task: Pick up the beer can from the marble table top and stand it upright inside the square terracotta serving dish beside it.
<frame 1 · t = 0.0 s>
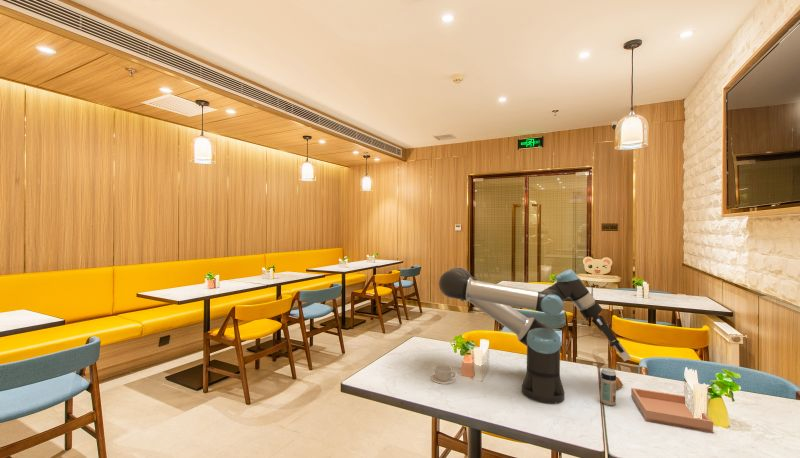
hand: (623, 353, 133), 15 cm above the table, tool tilted 35°, fingers open, 13 cm apart
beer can: (608, 403, 125), on the table
teacup: (443, 380, 143), on the table
terracotta dish: (668, 413, 119), on the table
pastry: (611, 387, 139), on the table
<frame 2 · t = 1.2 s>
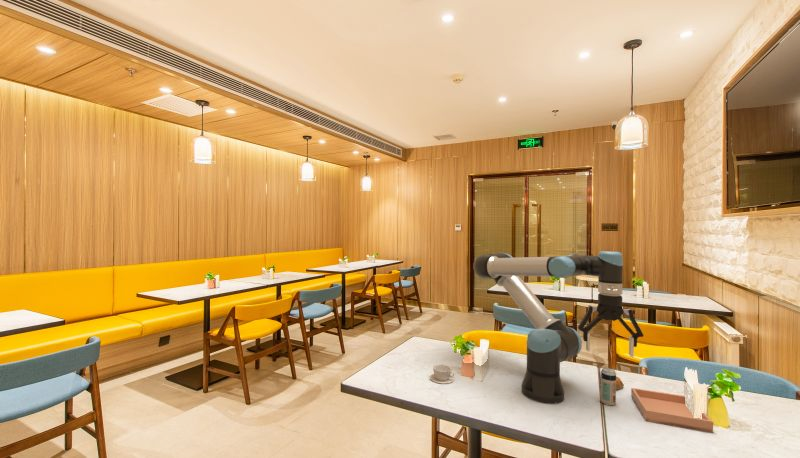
hand: (609, 352, 125), 18 cm above the table, tool pointing down, fingers open, 13 cm apart
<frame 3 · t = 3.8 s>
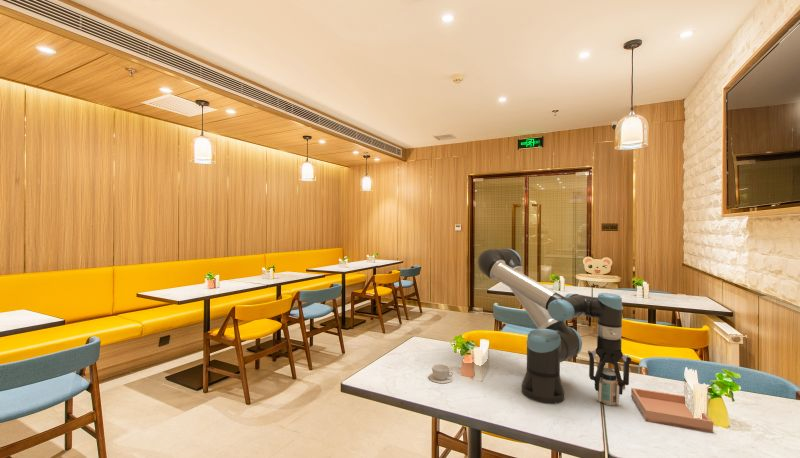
hand: (608, 401, 125), 1 cm above the table, tool pointing down, fingers closed on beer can, 5 cm apart
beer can: (608, 403, 125), on the table, touching gripper
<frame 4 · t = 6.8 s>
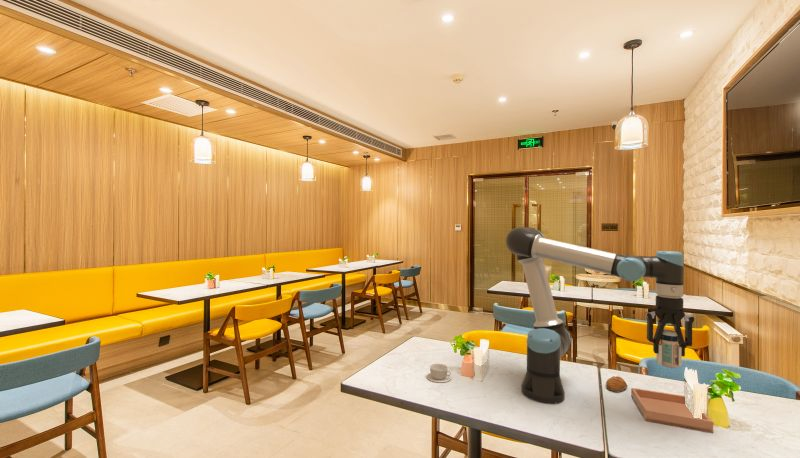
hand: (668, 363, 119), 17 cm above the table, tool pointing down, fingers closed on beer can, 5 cm apart
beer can: (668, 366, 119), point 16 cm above the table, touching gripper
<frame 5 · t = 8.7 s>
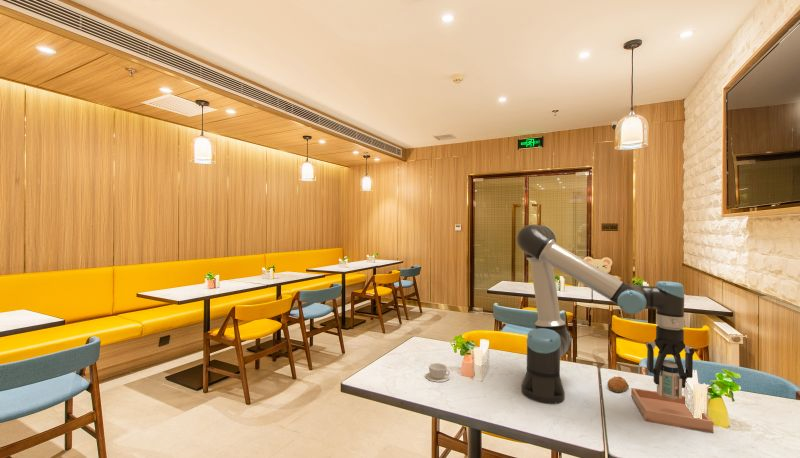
hand: (668, 394, 119), 6 cm above the table, tool pointing down, fingers closed on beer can, 5 cm apart
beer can: (669, 397, 119), point 5 cm above the table, touching gripper
when the fingers open (3 cm above the table, at t = 10.1 s): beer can drops 1 cm, resting on terracotta dish.
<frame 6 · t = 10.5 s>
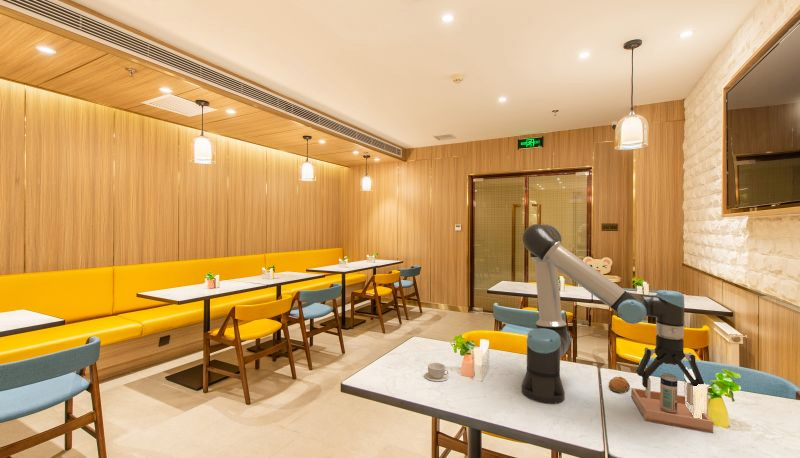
hand: (668, 400, 119), 5 cm above the table, tool pointing down, fingers open, 11 cm apart
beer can: (668, 411, 119), point 1 cm above the table, touching terracotta dish
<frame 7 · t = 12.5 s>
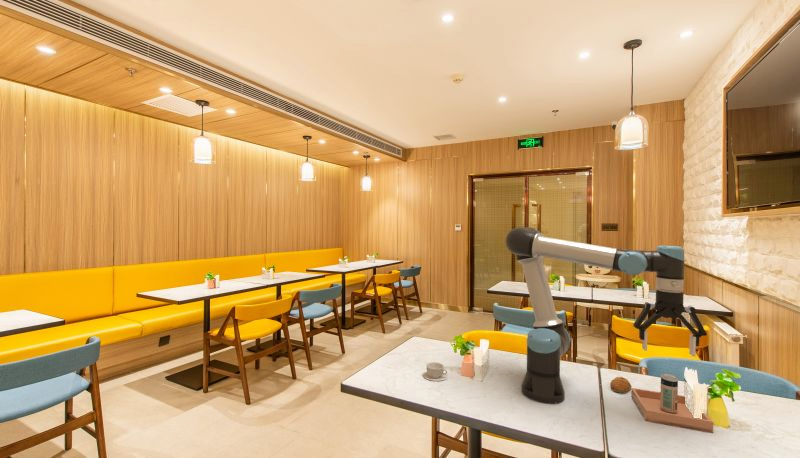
hand: (667, 352, 119), 21 cm above the table, tool pointing down, fingers open, 13 cm apart
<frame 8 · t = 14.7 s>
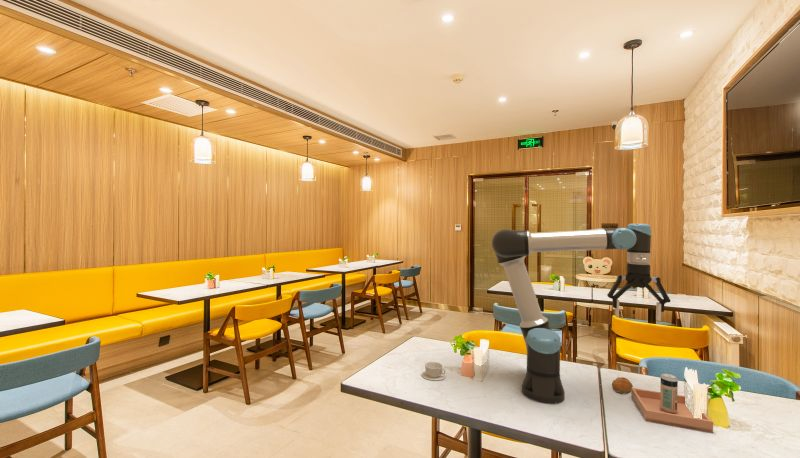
hand: (637, 318, 134), 29 cm above the table, tool pointing down, fingers open, 13 cm apart
at the end: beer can inside the target area on the terracotta dish (0.1 cm from its centre), point 0.8 cm above the terracotta dish's base; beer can tilted 0° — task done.
